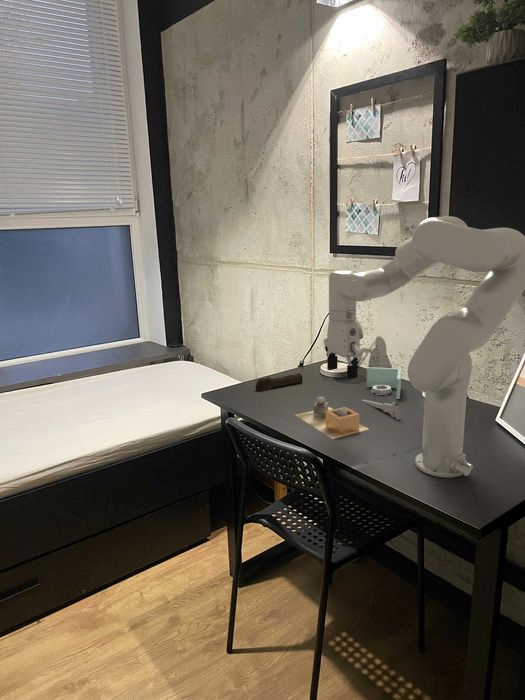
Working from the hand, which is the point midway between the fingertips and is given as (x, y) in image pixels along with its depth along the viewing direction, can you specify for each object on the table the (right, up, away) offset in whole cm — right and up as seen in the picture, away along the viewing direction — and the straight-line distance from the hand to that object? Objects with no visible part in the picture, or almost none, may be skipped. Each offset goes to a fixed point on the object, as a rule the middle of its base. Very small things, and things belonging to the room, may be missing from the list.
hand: (342, 373), depth 147 cm
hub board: (-2, -16, +10) cm, 19 cm away
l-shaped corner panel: (+20, -9, +35) cm, 41 cm away
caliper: (+15, -13, +19) cm, 27 cm away
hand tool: (-16, -7, +46) cm, 49 cm away
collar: (+1, -16, +4) cm, 17 cm away
